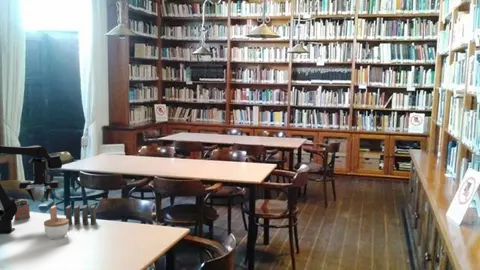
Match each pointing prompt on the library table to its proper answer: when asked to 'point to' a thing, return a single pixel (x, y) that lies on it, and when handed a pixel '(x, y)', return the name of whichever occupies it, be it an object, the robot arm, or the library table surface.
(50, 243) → the library table surface
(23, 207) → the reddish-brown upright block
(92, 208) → the domino
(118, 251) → the library table surface
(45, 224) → the lidded jar
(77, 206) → the domino
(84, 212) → the domino
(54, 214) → the domino
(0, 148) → the robot arm
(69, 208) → the domino
